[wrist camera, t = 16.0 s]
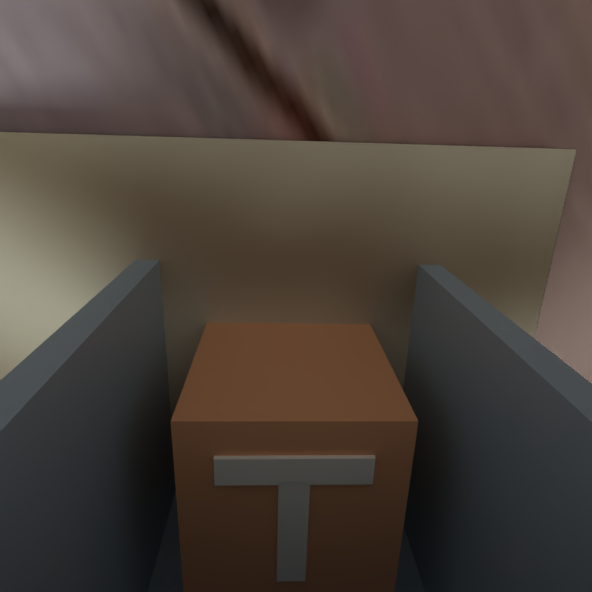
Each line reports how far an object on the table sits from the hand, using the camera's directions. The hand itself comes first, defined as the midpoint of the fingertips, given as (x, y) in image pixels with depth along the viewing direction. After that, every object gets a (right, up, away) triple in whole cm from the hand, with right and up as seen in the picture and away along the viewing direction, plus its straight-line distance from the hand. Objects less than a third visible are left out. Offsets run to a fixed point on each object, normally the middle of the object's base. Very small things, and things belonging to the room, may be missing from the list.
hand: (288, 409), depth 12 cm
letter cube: (0, 0, +1) cm, 1 cm away
